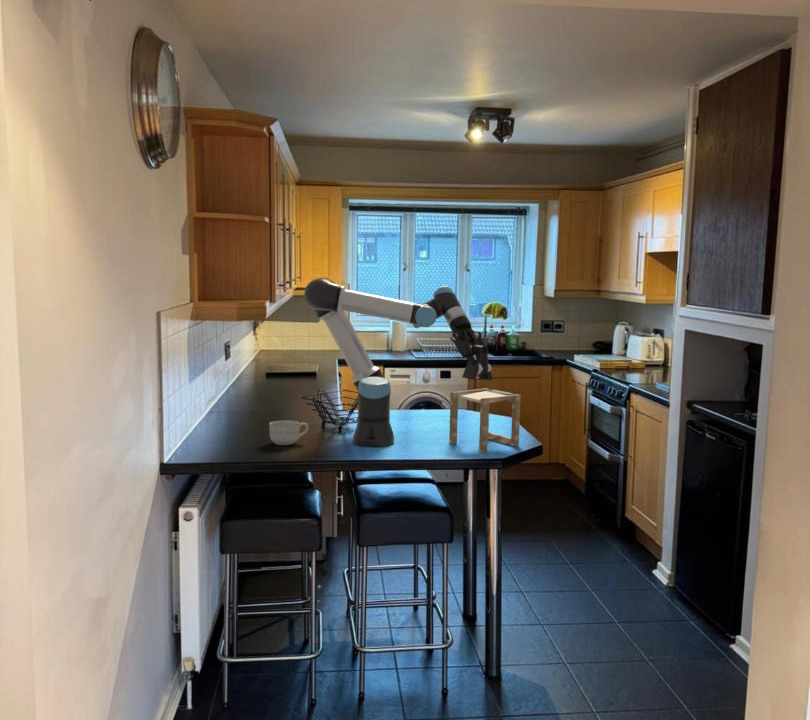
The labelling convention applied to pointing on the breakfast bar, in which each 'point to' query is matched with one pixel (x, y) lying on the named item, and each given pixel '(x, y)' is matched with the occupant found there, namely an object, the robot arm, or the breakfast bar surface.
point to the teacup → (286, 432)
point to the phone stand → (480, 359)
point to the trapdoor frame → (486, 419)
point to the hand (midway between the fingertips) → (484, 371)
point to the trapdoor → (486, 395)
